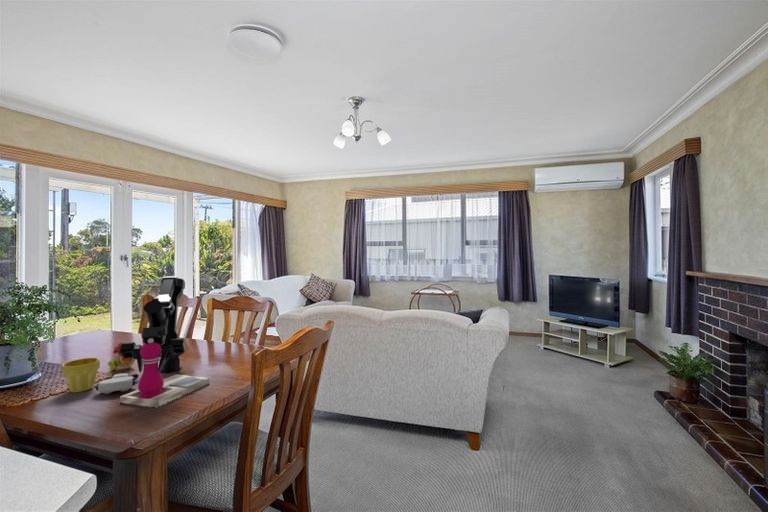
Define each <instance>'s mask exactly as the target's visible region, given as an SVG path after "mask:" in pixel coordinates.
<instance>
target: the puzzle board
mask: <svg viewBox="0 0 768 512" xmlns="http://www.w3.org/2000/svg"><path fill="white" fill-rule="evenodd" d="M163 381H164V385H163V387H162V388H161V389H160V390H161V391H162V394H160V395H158V396H155V397H153V398H151V399H145V398H140V394H141V392H140V391H139V390H138V389H136V390H133V391H130V392H129V393H125V394H123V395H121V396H120V397H119V399H120V402H119V403H122V404H127V405H133V406H140V407H146V406H147V407H146V408H152V407H155V408H154V409H157V407H158V408H160V407H162V406H164V405H166V404H168V403H167V402H169V403H171V402H173V401H175V400H177V399H179V398H181V397H184V396H186V395H188V394H190V393H192V392H194V391H196V389H197V390H198V389H201V388H202V387H205V386H207V385H210V377H203V376H202V377H201V376H194V375H193V376H192V375H186V374H175V375H172V376H169V377H167V378H164V379H163ZM187 393H188V394H187ZM185 394H186V395H185ZM183 395H184V396H183ZM176 398H177V399H176ZM174 399H175V400H174ZM172 400H173V401H172ZM170 401H171V402H170ZM163 404H164V405H163ZM161 405H162V406H161ZM159 406H160V407H159Z"/></svg>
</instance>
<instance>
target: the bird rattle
mask: <svg viewBox="0 0 768 512" xmlns="http://www.w3.org/2000/svg"><path fill="white" fill-rule="evenodd" d="M122 343H123V342H119V343H118V345H117V346H115V347H114V348H113V354H114V355H115V357H114V358H113V360H111V361H109V362H108V363H107V366H108V367H109V370H110V371H118V372H119V367H120V368H128V369H131V367H132V366H133V365H134V363H135V362H136V361H137V359H133V358H123V357H122V355H121V353H120V351H119V348H120V345H121V344H122Z"/></svg>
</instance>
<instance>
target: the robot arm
mask: <svg viewBox="0 0 768 512" xmlns="http://www.w3.org/2000/svg"><path fill="white" fill-rule="evenodd" d="M185 289H186V281H185V280H184V278H179V277H177V276H174V275H173V276H164V277H162V279H161V280H160V289H159V292H158V294H157V296H156V297H154V298H151V301H148V302H146V303H144V305H143V307H142V308H143V312H144V315H145V317H146V320H147V322H148V323H149V324H148V327H143V328H142V332H141V333H142V334H141V338H142V343H143V344H136V342H135V341H131V342H130V341H129V342H121V343H122V344H121V345H120V348H119V351H120V353H121V355H122V356H121V358H122V357H123V358H133V359H136V364H137V367H138V372H139V373H142V372H143V368H144V365H143V363H142V359H143V357H142V356H141V355H140V349H141V347H142V346H143V345H145V344H147V343H148V339H149V338H153V339H154V342H153V343H158V344H159V345H160V346H161V353H160V354H159V357H160V358H159V359H160V361H159V362H158V370H159V372H160V373H167V374H170V373H174V372H176V371H178V370H182V369H183V366H181V365H180V363H181V362H180V361H181V360H180V356H181V355H184V354H185V353H186V342H185V339H184V338H180V336H179V335H178V333H177V324H178V323H177V322H178V311H179V310H178V308H179V300H180V298H181V297H182V296H183V294H184V290H185ZM181 368H182V369H181ZM173 371H174V372H173Z"/></svg>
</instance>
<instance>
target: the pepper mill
mask: <svg viewBox="0 0 768 512" xmlns="http://www.w3.org/2000/svg"><path fill="white" fill-rule="evenodd" d="M153 342H154V339H153V338H149V339H148V343H147V344H145V343H144V344H142V345H143V346H142V347H141V349H140V355H141V356H142V357H143V359H142V363H143V369H142V374H141V375H140V379H139V380H138V383H137V390H139V391H140V392H141V394H140V397H139V398H145V399H151V398H153V397H155V396H158V395H160V394H162V391H161V390H160V389H161V388H162V387H163V385H164V381H163V380H164V379H163V376H162V374H161V372H159V370H158V367H159V362H160V359H161V357H159V354H160V353H161V346H160V345H159V344H158V343H153Z"/></svg>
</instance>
